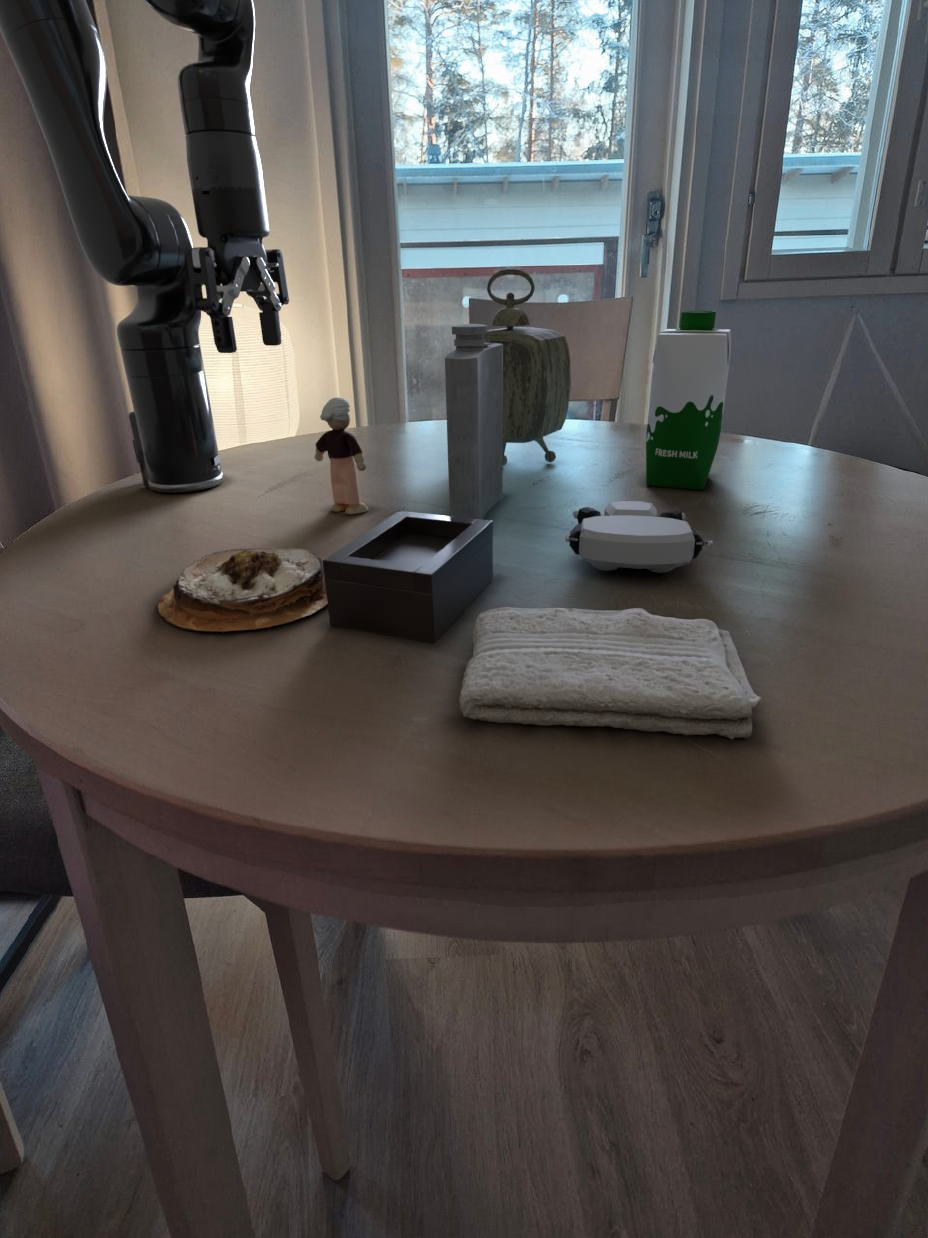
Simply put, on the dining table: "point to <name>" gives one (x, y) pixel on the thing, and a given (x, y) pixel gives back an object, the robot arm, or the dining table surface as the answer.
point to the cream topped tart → (246, 590)
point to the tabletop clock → (530, 372)
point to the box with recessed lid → (409, 575)
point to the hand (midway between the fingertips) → (250, 348)
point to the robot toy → (634, 537)
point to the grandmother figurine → (341, 457)
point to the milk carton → (686, 401)
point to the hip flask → (474, 422)
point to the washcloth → (606, 672)
